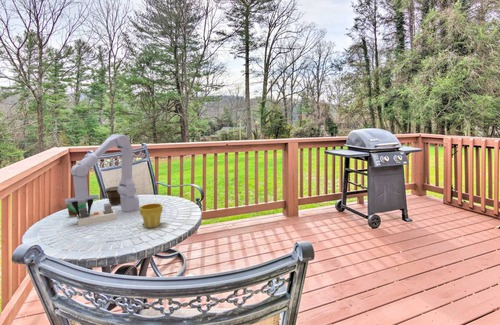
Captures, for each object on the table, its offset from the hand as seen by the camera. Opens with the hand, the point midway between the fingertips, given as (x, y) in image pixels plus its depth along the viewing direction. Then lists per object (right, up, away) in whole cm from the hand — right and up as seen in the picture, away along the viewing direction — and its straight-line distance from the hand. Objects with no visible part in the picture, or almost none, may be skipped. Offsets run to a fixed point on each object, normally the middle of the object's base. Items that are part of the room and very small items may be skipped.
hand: (84, 215), depth 145 cm
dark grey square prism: (0, -4, 0) cm, 4 cm away
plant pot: (+35, -5, -3) cm, 36 cm away
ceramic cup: (-1, 0, +34) cm, 34 cm away
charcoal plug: (+9, -3, +6) cm, 12 cm away
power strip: (+5, -4, +4) cm, 7 cm away
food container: (-9, -3, +14) cm, 17 cm away
